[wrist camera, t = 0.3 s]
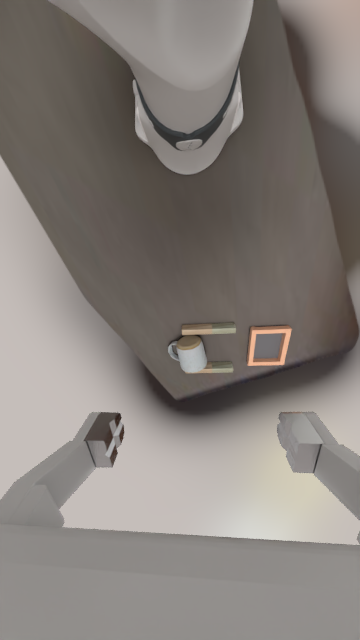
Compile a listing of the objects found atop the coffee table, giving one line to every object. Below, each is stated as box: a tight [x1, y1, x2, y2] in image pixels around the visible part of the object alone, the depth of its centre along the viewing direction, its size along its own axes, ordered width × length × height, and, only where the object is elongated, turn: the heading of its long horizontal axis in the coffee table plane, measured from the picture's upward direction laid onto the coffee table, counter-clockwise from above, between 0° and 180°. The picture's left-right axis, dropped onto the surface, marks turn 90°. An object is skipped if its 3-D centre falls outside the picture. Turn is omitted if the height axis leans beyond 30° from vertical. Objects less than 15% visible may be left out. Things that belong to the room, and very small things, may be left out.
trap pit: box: [246, 325, 292, 366], centre depth 53 cm, size 12×10×2 cm
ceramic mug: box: [168, 335, 207, 373], centre depth 52 cm, size 11×8×8 cm
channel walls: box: [182, 323, 236, 373], centre depth 54 cm, size 15×14×3 cm
